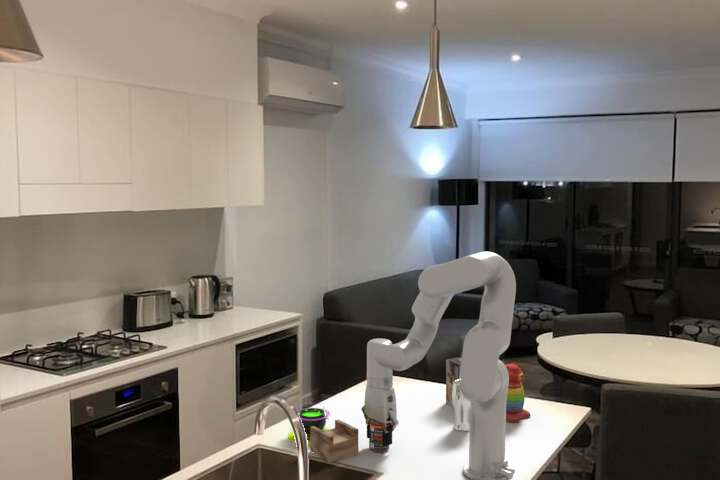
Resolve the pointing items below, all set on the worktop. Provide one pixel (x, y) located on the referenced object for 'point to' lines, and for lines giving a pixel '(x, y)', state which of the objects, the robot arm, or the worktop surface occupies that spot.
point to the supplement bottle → (377, 437)
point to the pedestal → (334, 441)
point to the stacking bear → (515, 395)
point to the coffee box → (451, 376)
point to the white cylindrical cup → (460, 409)
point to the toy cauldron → (311, 420)
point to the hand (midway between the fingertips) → (379, 440)
